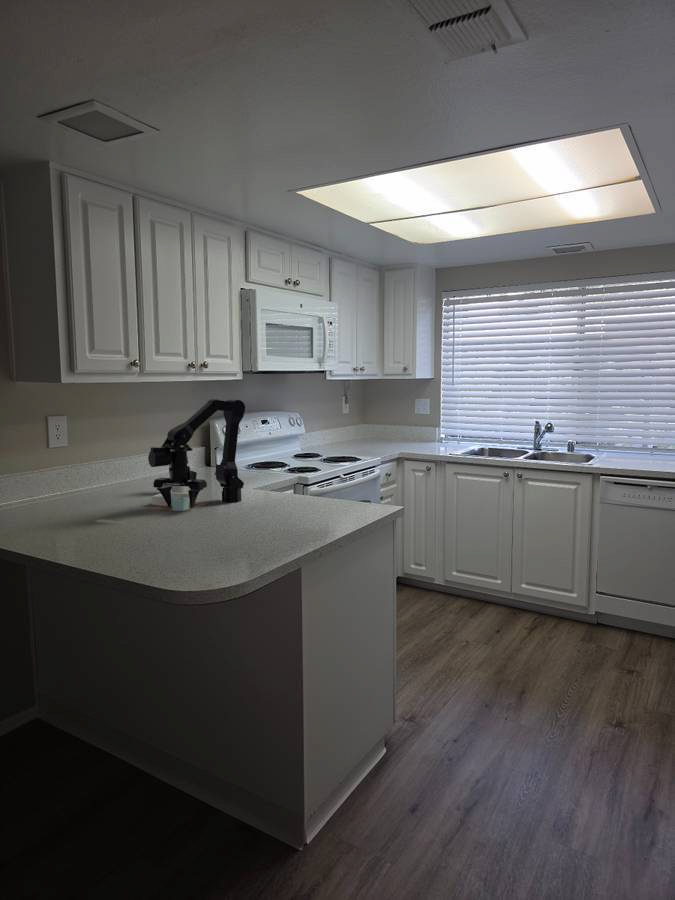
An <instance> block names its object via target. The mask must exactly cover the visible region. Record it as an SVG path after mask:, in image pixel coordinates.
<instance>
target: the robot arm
mask: <svg viewBox="0 0 675 900" xmlns="http://www.w3.org/2000/svg"><path fill="white" fill-rule="evenodd" d="M217 411H221V412H223V417H224V421H225V429H224V430H225V431H224V440H223V449H222V458H221V462H220V463H219V464H218V463H216V465H215V472H214V476H215V480H216V481H217V482H218V483H219V485H220V487H221V488H222V491H221V502H224V503H228V504H229V503H230V504H232V503H233V504H235V503H240V502H242V489H243V488H244V486H245V483H244V481H243V480H241V478H239V471H238V467H237V464H236V458H237V457H236V456H237V455H236V454H237V448H238V447H237V445H238V437H239V427H240V423H241V421H242V420H243V418H244V416H245V411H246V404H245V403H244V402H243V401H242V400H240V399H227V400H221V399H216V398H211V399H209V400H208V401H207V402H206V403H205V404H204V405H203V406H202V407H201V408H200V409H198V410H197V411H196V412H195V413H194V414H192V416H190V417H189V419H187V420H186V421H184V422H183V423H181V424H178V425H176V426H175V427H173V428H171V429H170V430H169V431H168V432H167V433H166V434H167V437H166V438H165V440H164V442H163V443H162V445H161V446H159V447H156V446H155V447H153V446H151V447H150V451H149V453H148V456H147V461H148V464H149V466H150V467H151V468H156V467H157V468H158V467H165V466H169V464H170V463H171V468H169V467H168V471H171V479H170V477H159V478H155V479H154V481H153V482H152V483H153V484H152V485H153V488H156V490H157V491H158V492H159V494H160V493H161V494H162V496H163V497H164V499H165V501H166V503H167V505H168V506H169V507H170V506H171V492H172V486H187V488H189V490H187V491H188V492H187V493H189V500H190V506H191V508H193V507H194V504H195V503H196V501H197V497H198V495H199V493H200V491H203V490H204V489H205V488H208V487H207V485H208V483H207V481H206V479H201V478H200V479H199V478H197V476H198V472H196V471H195V470H194V471H193V470H191V466H190V465H187V457H188V452H191V451H193V450H194V449H193V448H192V447H191V446H190V445H189V444H188V443H189V441H190V440H191V439H192V438H193V436H194V433H195V432H196V431H197V430H198V429H199V428H200V427H201V426H202V425H203V424H204V423H205V422H206V421H208V420H209V419H210V418H212V416H213V415H214V414H215V413H217Z"/></svg>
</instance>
